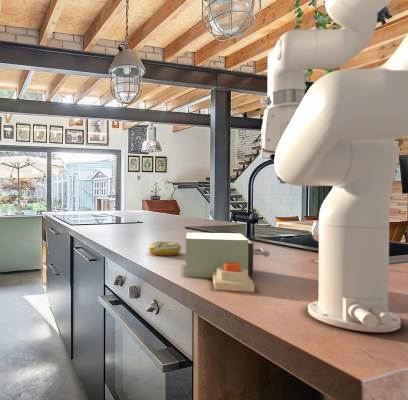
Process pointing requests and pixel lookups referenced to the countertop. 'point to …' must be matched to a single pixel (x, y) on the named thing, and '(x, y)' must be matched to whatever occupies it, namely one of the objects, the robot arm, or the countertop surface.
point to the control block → (232, 280)
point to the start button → (231, 267)
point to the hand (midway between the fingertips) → (285, 183)
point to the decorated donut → (164, 248)
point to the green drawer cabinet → (214, 252)
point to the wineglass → (316, 233)
